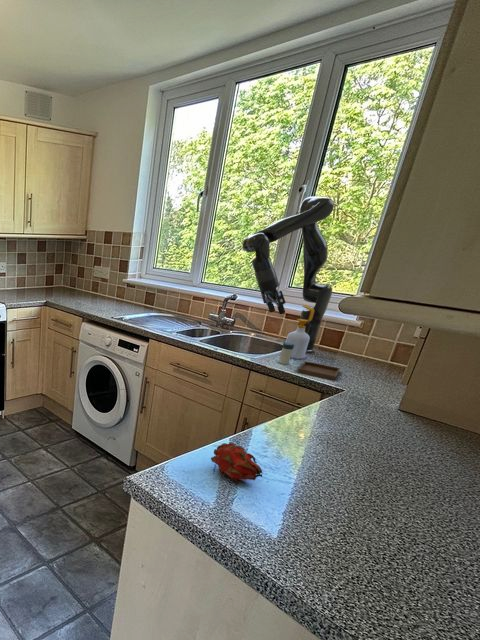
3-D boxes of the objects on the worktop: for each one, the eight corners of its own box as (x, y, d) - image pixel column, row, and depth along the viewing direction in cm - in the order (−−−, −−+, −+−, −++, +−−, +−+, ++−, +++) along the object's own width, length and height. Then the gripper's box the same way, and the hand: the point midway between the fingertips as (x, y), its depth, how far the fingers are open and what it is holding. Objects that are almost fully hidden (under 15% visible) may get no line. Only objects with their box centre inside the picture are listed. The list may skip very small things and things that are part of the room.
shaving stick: (279, 360, 189) (284, 342, 185) (289, 363, 186) (295, 344, 183) (277, 362, 186) (282, 343, 182) (287, 365, 183) (293, 345, 180)
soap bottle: (286, 352, 203) (300, 303, 194) (306, 357, 196) (322, 306, 187) (279, 355, 197) (293, 304, 188) (299, 360, 191) (315, 308, 182)
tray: (303, 364, 185) (305, 361, 184) (338, 371, 177) (340, 368, 176) (297, 372, 174) (298, 368, 173) (334, 380, 166) (335, 376, 165)
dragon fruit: (208, 466, 104) (251, 497, 95) (197, 458, 98) (243, 490, 89) (228, 440, 103) (274, 469, 95) (219, 430, 97) (267, 460, 89)
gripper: (284, 275, 170) (294, 310, 174) (267, 274, 184) (277, 307, 188) (266, 282, 172) (277, 317, 175) (250, 282, 185) (261, 314, 189)
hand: (277, 312), depth 181 cm, fingers open, 8 cm apart
